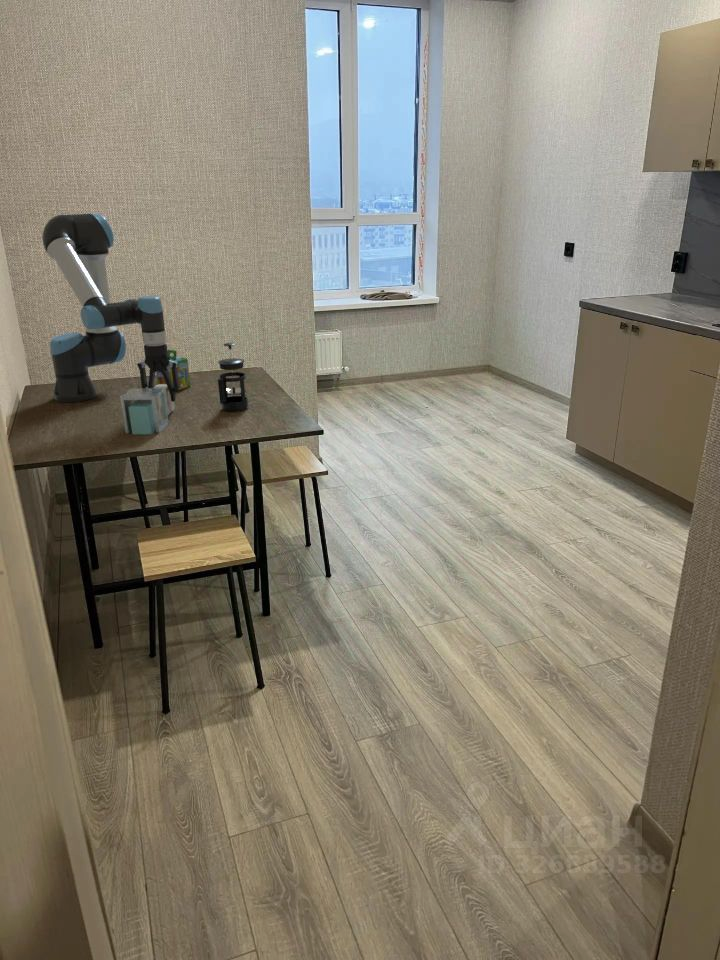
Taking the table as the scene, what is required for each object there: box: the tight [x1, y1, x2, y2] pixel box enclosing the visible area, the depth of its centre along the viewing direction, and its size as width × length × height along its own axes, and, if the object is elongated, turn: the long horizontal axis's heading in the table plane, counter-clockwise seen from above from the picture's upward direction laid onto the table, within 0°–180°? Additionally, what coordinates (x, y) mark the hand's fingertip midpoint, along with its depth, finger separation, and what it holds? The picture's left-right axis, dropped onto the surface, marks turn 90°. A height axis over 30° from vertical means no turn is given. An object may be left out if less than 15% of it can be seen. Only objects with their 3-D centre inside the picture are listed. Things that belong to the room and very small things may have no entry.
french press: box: [217, 342, 250, 413], centre depth 243 cm, size 12×9×23 cm
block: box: [129, 402, 156, 435], centre depth 224 cm, size 6×6×9 cm
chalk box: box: [155, 349, 191, 392], centre depth 273 cm, size 9×9×15 cm
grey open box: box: [119, 387, 169, 434], centre depth 226 cm, size 10×11×12 cm
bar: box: [136, 384, 176, 423], centre depth 237 cm, size 22×5×9 cm, turn 177°
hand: (163, 410), depth 244 cm, fingers closed on bar, 5 cm apart
